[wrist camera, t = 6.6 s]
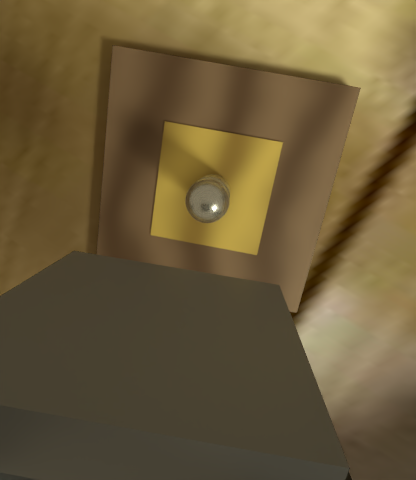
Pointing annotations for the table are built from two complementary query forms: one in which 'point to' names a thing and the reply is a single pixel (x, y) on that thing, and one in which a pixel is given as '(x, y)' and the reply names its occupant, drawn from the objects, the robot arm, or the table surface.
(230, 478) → the collar
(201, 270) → the base plate
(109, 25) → the table surface
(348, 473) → the robot arm
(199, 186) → the steel post
